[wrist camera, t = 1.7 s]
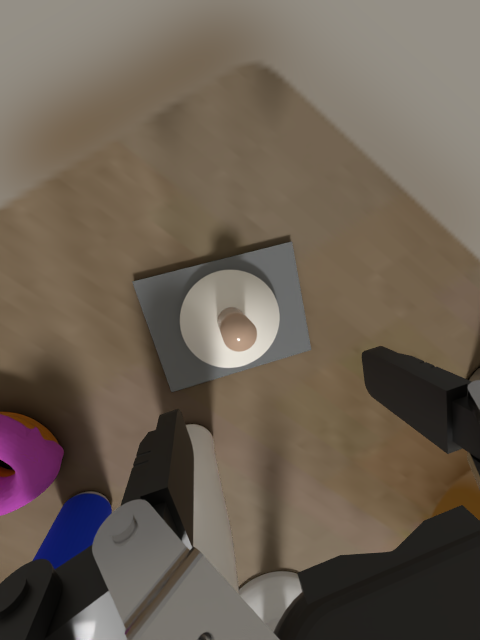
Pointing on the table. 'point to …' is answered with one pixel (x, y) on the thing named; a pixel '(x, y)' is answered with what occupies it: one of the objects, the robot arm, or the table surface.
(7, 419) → the donut
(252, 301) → the lid
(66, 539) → the beverage can
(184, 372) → the mat
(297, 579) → the candlestick
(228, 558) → the drinking glass
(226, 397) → the table surface
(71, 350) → the table surface
